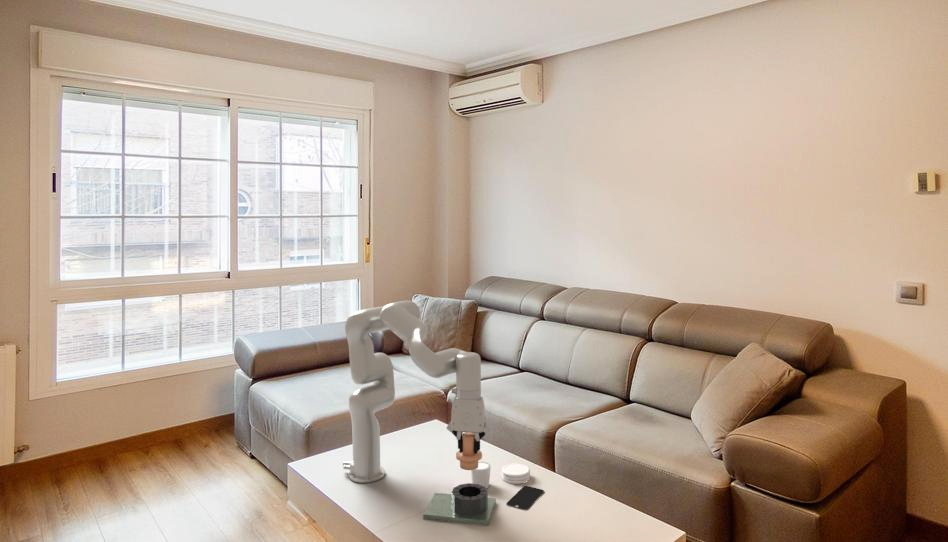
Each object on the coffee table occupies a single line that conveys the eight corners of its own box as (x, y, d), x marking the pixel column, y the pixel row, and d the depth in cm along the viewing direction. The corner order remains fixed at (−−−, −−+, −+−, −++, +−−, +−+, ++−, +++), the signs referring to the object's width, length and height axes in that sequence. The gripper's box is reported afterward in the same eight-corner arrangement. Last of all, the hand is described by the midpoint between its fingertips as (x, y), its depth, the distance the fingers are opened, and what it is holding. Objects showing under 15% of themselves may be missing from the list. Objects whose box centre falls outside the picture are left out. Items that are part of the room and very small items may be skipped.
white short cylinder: (531, 473, 207) (531, 464, 206) (528, 486, 197) (528, 476, 197) (504, 471, 209) (504, 461, 209) (499, 483, 199) (499, 473, 199)
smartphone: (504, 504, 184) (524, 484, 197) (504, 506, 184) (524, 487, 197) (526, 510, 180) (545, 490, 193) (526, 512, 180) (545, 492, 193)
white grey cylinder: (488, 491, 193) (488, 470, 193) (468, 489, 195) (468, 469, 194) (492, 481, 200) (492, 462, 199) (472, 480, 201) (472, 460, 201)
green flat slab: (423, 519, 176) (422, 498, 175) (435, 497, 189) (435, 478, 189) (488, 525, 172) (488, 504, 171) (495, 502, 185) (495, 483, 185)
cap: (453, 470, 175) (453, 438, 174) (459, 459, 183) (459, 429, 182) (479, 472, 174) (479, 440, 173) (484, 461, 182) (484, 430, 181)
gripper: (438, 395, 174) (439, 454, 176) (493, 398, 171) (493, 458, 173) (444, 388, 182) (445, 445, 183) (497, 391, 178) (497, 448, 180)
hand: (469, 451), depth 178 cm, fingers closed on cap, 4 cm apart
